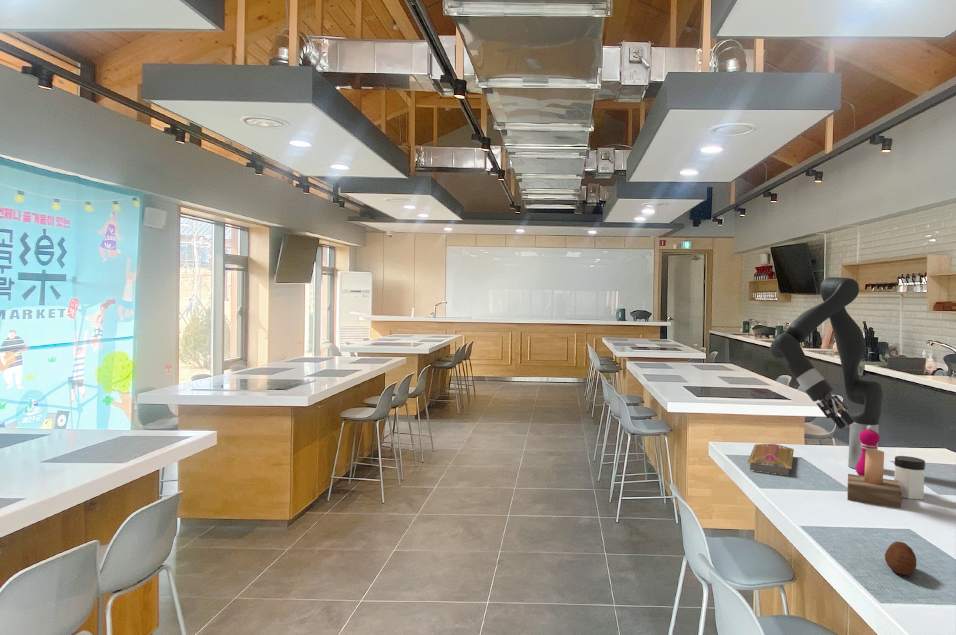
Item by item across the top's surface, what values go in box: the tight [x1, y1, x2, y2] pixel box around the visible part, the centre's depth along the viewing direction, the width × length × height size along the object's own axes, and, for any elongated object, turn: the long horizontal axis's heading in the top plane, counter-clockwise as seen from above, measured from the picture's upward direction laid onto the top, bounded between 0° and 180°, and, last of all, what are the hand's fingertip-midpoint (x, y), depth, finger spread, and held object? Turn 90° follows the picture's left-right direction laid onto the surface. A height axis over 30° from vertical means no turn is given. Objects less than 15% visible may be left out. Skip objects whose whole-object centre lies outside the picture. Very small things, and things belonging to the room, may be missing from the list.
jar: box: [893, 455, 926, 500], centre depth 202 cm, size 9×8×12 cm
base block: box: [846, 473, 903, 509], centre depth 198 cm, size 14×14×5 cm
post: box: [864, 449, 885, 485], centre depth 198 cm, size 5×5×10 cm
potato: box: [884, 541, 917, 576], centre depth 143 cm, size 6×12×6 cm, turn 158°
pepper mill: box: [855, 426, 881, 476], centre depth 215 cm, size 7×7×20 cm
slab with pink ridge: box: [747, 443, 795, 477], centre depth 239 cm, size 35×14×6 cm, turn 152°
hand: (847, 425), depth 206 cm, fingers open, 8 cm apart
